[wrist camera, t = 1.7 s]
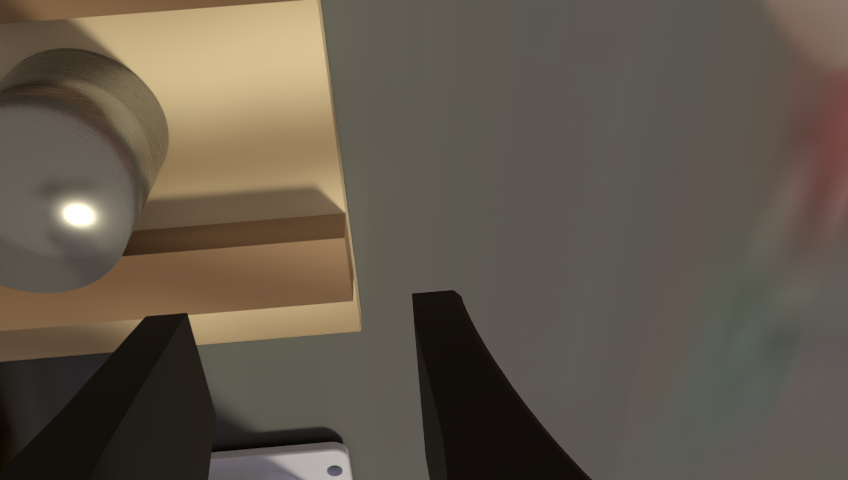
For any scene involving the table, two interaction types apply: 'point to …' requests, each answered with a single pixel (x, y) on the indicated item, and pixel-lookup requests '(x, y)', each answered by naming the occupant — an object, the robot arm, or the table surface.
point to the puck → (73, 167)
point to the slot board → (207, 177)
